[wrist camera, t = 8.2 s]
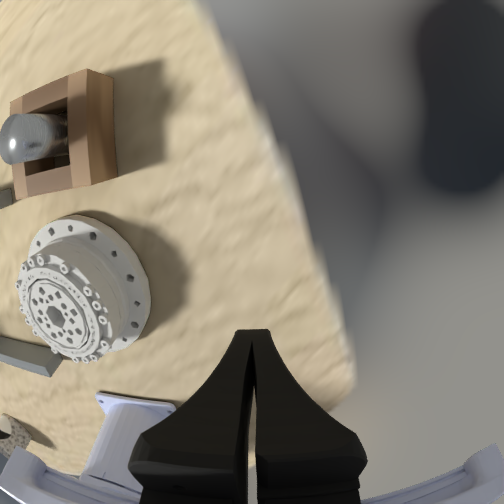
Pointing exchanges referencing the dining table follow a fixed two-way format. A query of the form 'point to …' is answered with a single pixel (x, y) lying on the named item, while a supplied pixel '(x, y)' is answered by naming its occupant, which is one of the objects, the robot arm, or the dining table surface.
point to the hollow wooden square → (71, 134)
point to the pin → (33, 137)
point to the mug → (12, 435)
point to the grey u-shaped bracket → (21, 352)
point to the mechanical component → (83, 289)
